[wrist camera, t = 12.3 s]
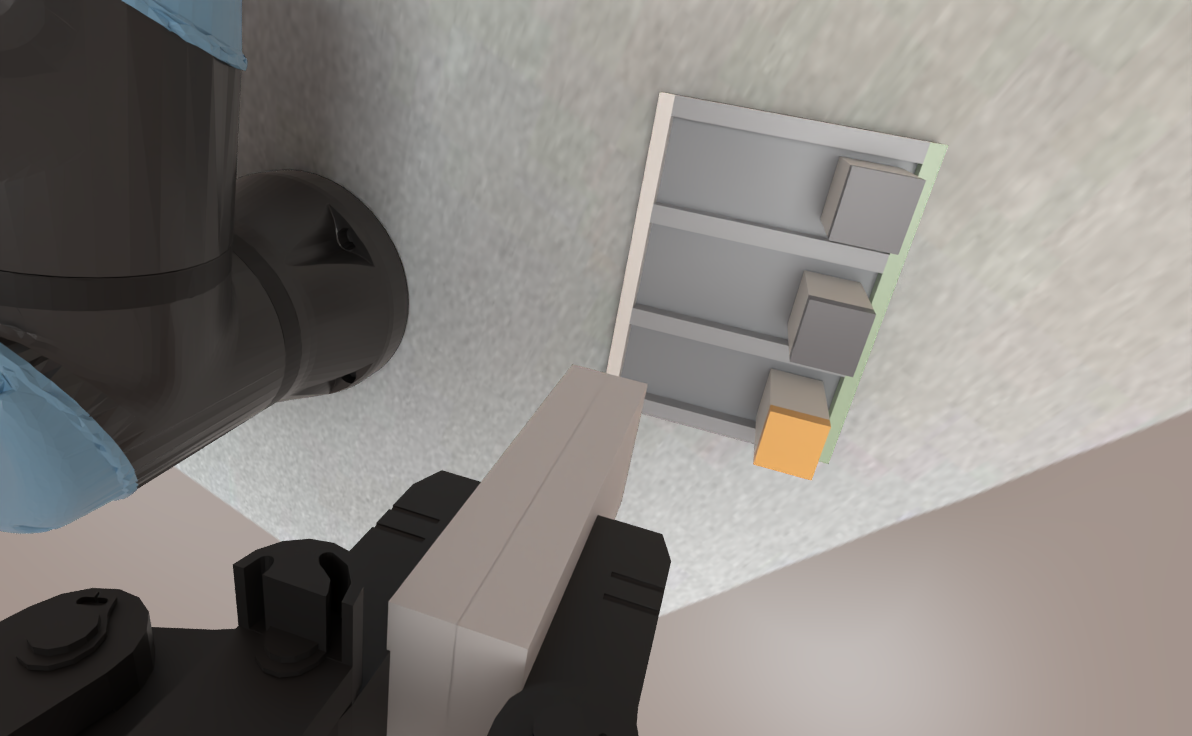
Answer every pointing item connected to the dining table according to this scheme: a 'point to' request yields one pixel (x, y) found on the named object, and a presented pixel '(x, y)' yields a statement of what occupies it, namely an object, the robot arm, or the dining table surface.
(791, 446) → the toggle far
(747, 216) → the breaker board
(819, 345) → the toggle mid
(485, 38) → the dining table surface
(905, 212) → the toggle near
